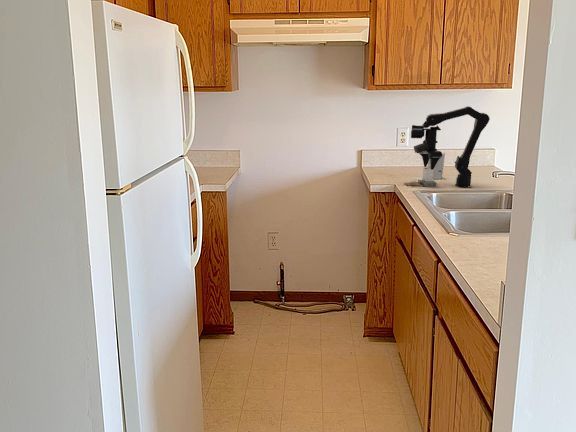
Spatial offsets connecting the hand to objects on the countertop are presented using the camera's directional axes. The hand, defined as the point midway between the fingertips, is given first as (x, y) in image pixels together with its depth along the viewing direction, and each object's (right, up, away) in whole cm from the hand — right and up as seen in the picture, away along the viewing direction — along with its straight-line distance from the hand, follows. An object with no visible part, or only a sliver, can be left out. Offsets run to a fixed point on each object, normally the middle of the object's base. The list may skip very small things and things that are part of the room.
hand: (428, 168), depth 298 cm
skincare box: (+9, -4, +22) cm, 24 cm away
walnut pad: (-8, -9, +1) cm, 12 cm away
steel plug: (0, -9, +2) cm, 9 cm away
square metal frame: (0, -9, +2) cm, 9 cm away
